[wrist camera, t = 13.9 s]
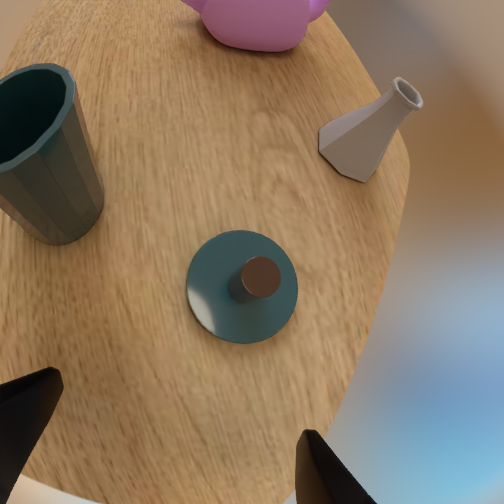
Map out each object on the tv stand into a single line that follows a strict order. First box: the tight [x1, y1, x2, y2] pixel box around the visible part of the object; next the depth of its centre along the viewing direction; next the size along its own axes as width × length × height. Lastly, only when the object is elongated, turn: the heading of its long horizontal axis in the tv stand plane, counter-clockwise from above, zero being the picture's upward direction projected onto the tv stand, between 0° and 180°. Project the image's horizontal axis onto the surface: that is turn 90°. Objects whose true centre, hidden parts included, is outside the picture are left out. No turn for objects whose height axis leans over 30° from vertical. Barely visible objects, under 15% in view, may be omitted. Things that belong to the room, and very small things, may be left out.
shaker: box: [0, 63, 104, 245], centre depth 14 cm, size 7×7×10 cm
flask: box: [319, 77, 423, 183], centre depth 23 cm, size 7×7×10 cm
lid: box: [186, 230, 298, 344], centre depth 19 cm, size 8×8×5 cm
